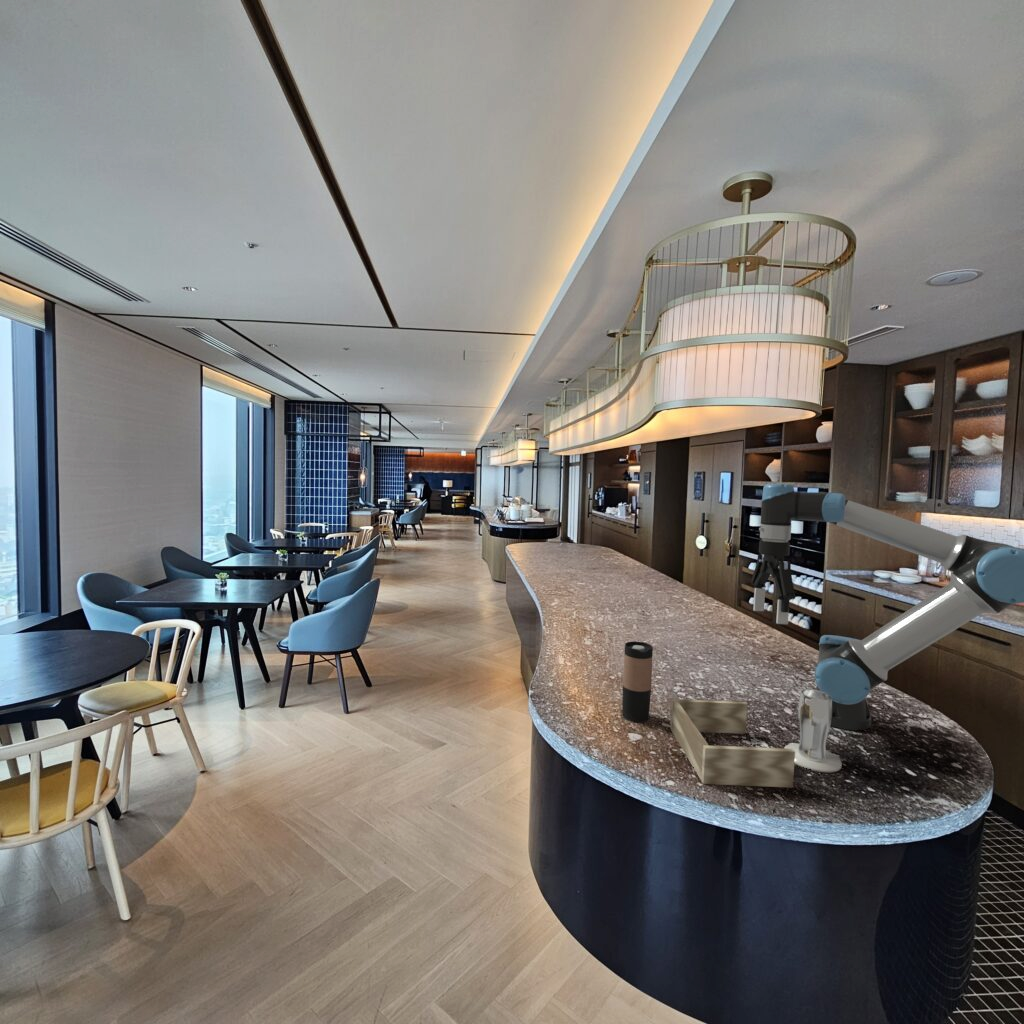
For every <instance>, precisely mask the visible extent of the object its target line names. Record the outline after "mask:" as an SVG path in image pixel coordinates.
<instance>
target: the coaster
mask: <svg viewBox="0 0 1024 1024" xmlns="http://www.w3.org/2000/svg"><path fill="white" fill-rule="evenodd" d="M798 747H799V743H789V744H787V745H785V746H784V748H785V749H793V750H794V751H795V762H794V765H796V766H799V767H801V768H803V767H804V768H805V769H806V768H807V770H809V769H811V770H810V771H813V772H814V771H815V772H819V773H826V774H827V773H836V772H839V771H841V769H842V766H843V765H842V761H841V760H840V758H839V757H838V756H837V755H835V754H833V753H832V752H831V751H828V750H827V749H826V760H825V761H823V762H816V761H811V760H808V759H805V758H803V757H802V756H800V755H799V754H798V752H797V750H798ZM804 768H803V769H804Z"/></svg>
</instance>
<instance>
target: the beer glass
mask: <svg viewBox="0 0 1024 1024" xmlns="http://www.w3.org/2000/svg"><path fill="white" fill-rule="evenodd" d="M797 713H798V717H797V718H798V725H799V734H800V737H799V738H800V739H799V743H798V744H799V747H798V750H797V752H798V754H799V755H800V756H802V757H803V758H805V759H808V760H811V761H816V762H823V761H825V760H826V750H827V749H826V742H827V738H828V735H829V731H830V728H831V726H830V725H831V720H832V696H831V695H829V694H827V693H825V692H823V691H819V690H815V689H812V688H803V689H801V690H800V695H799V700H798V709H797Z"/></svg>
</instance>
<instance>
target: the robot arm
mask: <svg viewBox="0 0 1024 1024" xmlns="http://www.w3.org/2000/svg"><path fill="white" fill-rule="evenodd" d="M794 487H795V486H794V485H793V484H792V483H791V484H790V483H787V484H786V483H785V484H784V483H766V484H765V485H764V486H763V490H762V498H761V506H760V507H761V510H760V527H759V528H758V530H759V538H760V540H759V545H758V553H759V554H757V560H756V564H755V568H754V570H753V574H752V577H751V579H750V583H751V585H753V588H754V594H753V612H765V600H766V599H765V598H766V588H767V586H766V584H767V581H768V579H769V578H770V576H771V578H773V580H774V584H775V587H776V590H777V594H778V596H777V598H776V599H777V606H776V608H777V609H776V620H775V621H776V622H775V624H777V625H789V615H790V613H789V612H790V601H791V600H795V599H796V594H795V593H796V592H795V587H794V581H793V577H792V568H791V567H792V565H791V561H785V559H784V557H787V556H789V555H790V552H791V551H790V549H791V543H790V542H789V541H790V540H791V537H792V535H791V534H792V521H793V520H795V521H799V520H800V521H811V522H822V523H823V522H825V523H828V524H831V525H835V526H837V527H840V528H843V529H847V530H849V531H851V532H854V533H857V534H860V535H862V536H866V537H868V538H871V539H873V540H877V541H879V542H882V543H884V544H886V545H890V546H893V547H895V548H899V549H900V550H903V551H907V552H909V553H912V554H915V555H917V556H921V557H922V558H926V559H929V560H931V561H934V562H937V563H939V564H942V566H943V567H944V569H945V570H946V571H947V570H948V571H950V572H952V573H950V578H949V579H950V581H949V583H948V584H946V585H944V586H943V587H941V588H940V589H939V590H937V591H935V592H934V593H932V594H931V595H929V596H927V597H926V598H924V599H923V600H921V601H920V602H918V603H916V604H915V605H914V606H913V607H910V608H909V609H908V610H906V611H905V612H903V613H900V615H898V616H897V617H896V618H893V619H892V620H890V621H889V622H888V623H886V624H884V625H883V626H882V627H879V628H878V629H877V630H875V631H873V632H872V633H870V634H869V635H868V636H866V637H864V638H863V639H857V638H852V637H848V636H847V637H846V636H841V635H833V634H824V635H822V636H821V637H820V638H819V643H818V646H819V649H818V658H817V662H816V666H815V668H814V678H815V679H814V680H815V683H816V686H815V689H814V690H819V691H823V692H825V693H827V694H829V695H831V696H832V720H831V725H830V727H834V728H837V729H838V728H839V729H842V730H843V729H844V730H849V731H864V730H865V731H866V730H868V729H870V728H871V727H872V716H871V712H870V708H869V705H868V701H867V699H866V698H867V697H868V695H869V694H870V691H871V690H872V689H874V688H876V687H877V686H879V685H880V684H883V683H884V682H886V681H887V680H888V674H889V673H888V672H889V670H892V669H893V668H895V667H896V666H898V665H899V664H901V663H903V662H904V661H906V660H908V659H909V658H911V657H913V656H914V655H916V654H918V653H919V652H921V651H923V650H924V649H926V648H927V647H929V646H931V645H933V644H934V643H936V642H938V641H939V640H941V639H942V638H944V637H945V636H947V635H949V634H951V633H953V632H954V631H956V630H957V629H960V627H962V626H965V624H967V623H969V622H971V621H972V620H974V619H976V618H978V617H979V616H980V615H982V614H990V615H997V614H999V613H1000V612H1002V611H1004V610H1006V609H1008V608H1010V607H1011V606H1013V605H1014V604H1023V603H1024V548H1021V547H1015V546H1014V545H1009V544H1006V543H1001V542H995V541H989V540H984V539H980V538H977V537H973V536H969V535H968V534H967V535H966V534H961V535H953V534H950V533H948V532H944V531H943V530H942V531H941V530H939V529H936V528H933V527H930V526H927V525H924V524H921V523H918V522H915V521H911V520H908V519H906V518H902V517H901V516H897V515H894V514H891V513H888V512H886V511H885V512H884V511H882V510H880V509H879V510H878V509H876V508H874V507H869V506H867V505H864V504H861V503H858V502H855V501H852V500H849V499H846V495H845V494H843V493H836V492H826V491H818V492H814V491H812V492H811V491H809V492H807V491H806V492H805V491H802V492H801V491H795V488H794Z"/></svg>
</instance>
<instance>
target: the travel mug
mask: <svg viewBox="0 0 1024 1024" xmlns="http://www.w3.org/2000/svg"><path fill="white" fill-rule="evenodd" d="M653 649H654V647H653V645H651V644H649V643H647V642H642V641H628V642H626V643H625V644H624V653H623V654H624V656H623V673H622V674H623V675H622V697H621V698H622V704H621V705H622V706H621V707H622V708H621V709H622V711H621V713H622V717H623V718H624V719H625V720H627V721H630V722H632V721H633V722H632V723H645V722H647V721H649V717H650V708H651V707H650V706H651V705H650V704H651V695H652V693H651V692H652V680H653V679H652V676H653V675H652V674H653V673H652V672H653V655H654V653H653V652H654V651H653ZM644 721H645V722H644Z"/></svg>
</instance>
